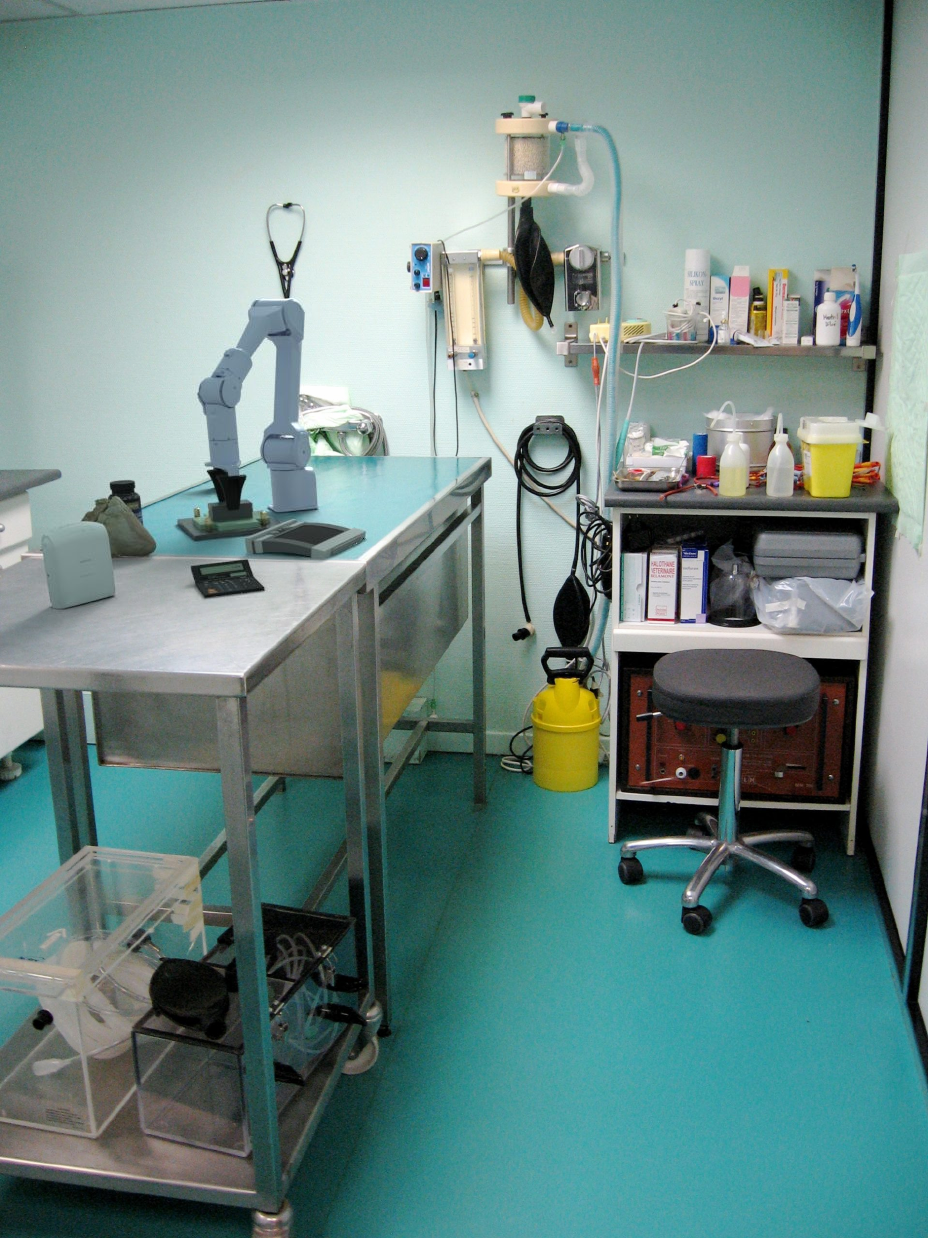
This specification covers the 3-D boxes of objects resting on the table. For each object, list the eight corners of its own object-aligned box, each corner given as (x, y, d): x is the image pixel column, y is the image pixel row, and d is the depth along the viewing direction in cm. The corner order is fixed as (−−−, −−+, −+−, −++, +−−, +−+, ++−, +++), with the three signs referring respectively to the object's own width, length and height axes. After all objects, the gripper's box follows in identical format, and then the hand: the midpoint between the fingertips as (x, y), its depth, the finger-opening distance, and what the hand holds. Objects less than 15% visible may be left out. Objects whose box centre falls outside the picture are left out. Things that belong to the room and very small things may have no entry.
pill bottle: (135, 541, 204) (128, 484, 201) (106, 540, 206) (99, 484, 202) (150, 534, 210) (144, 479, 207) (122, 533, 211) (115, 478, 208)
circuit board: (256, 512, 224) (255, 494, 222) (274, 524, 211) (272, 505, 210) (189, 519, 218) (187, 500, 217) (203, 532, 206) (201, 512, 205)
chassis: (263, 514, 226) (261, 498, 225) (286, 530, 211) (285, 513, 210) (177, 524, 219) (176, 507, 218) (195, 540, 204) (193, 522, 203)
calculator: (205, 600, 165) (203, 581, 164) (192, 582, 175) (190, 565, 174) (264, 592, 168) (263, 574, 167) (248, 575, 178) (247, 558, 178)
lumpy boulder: (133, 573, 187) (60, 541, 189) (159, 579, 198) (90, 549, 200) (158, 513, 187) (84, 483, 189) (183, 523, 198) (113, 494, 200)
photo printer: (60, 611, 159) (49, 530, 156) (45, 606, 162) (34, 527, 158) (120, 596, 167) (111, 518, 163) (105, 591, 170) (96, 515, 166)
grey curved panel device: (291, 519, 207) (366, 516, 201) (294, 542, 208) (369, 540, 203) (244, 538, 192) (324, 535, 186) (248, 563, 193) (327, 561, 187)
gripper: (195, 436, 214) (201, 502, 218) (210, 444, 202) (217, 514, 206) (230, 433, 217) (235, 499, 221) (247, 441, 205) (253, 511, 209)
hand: (229, 506), depth 214 cm, fingers open, 7 cm apart
